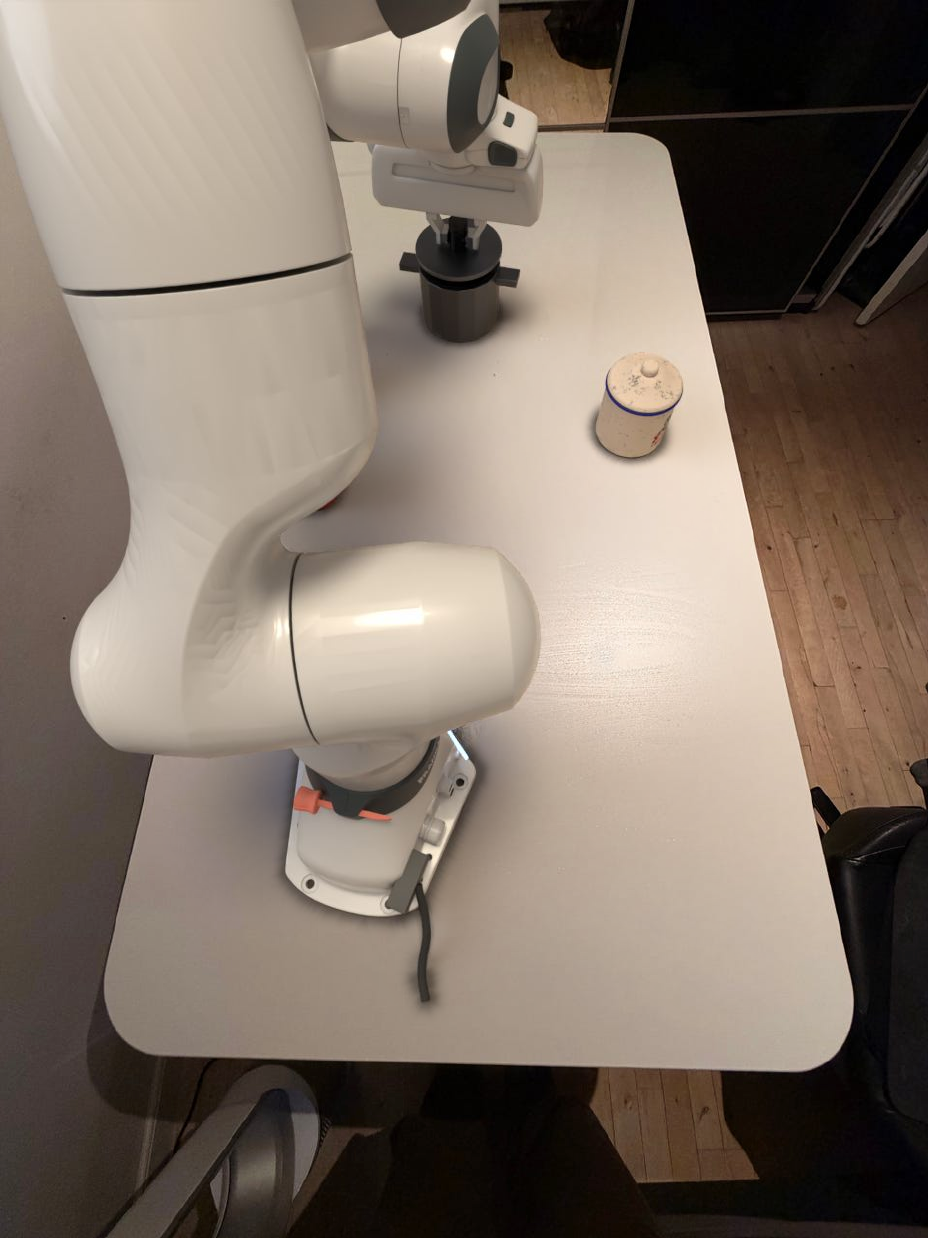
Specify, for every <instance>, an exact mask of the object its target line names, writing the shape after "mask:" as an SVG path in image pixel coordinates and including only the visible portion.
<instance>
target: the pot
mask: <svg viewBox="0 0 928 1238" xmlns="http://www.w3.org/2000/svg"><path fill="white" fill-rule="evenodd" d="M398 267H399V271H402V272H407V273H408V272H409V273H414V274H418V275H419V284H420V295H421V306H422V314H423V321H424V324H425V326H426V328H427V329H428V331H429V332H430V333H431V334H433V336H435V337H437V338H438V339H440V340H443V341H445V342H450V343H456V344H457V343H458V344H463V343H464V344H465V343H470V342H475V341H477V340H480V339H481V338H484V337H486V335H488V334H489V333H490V332H491V331H492V330H493V328H494V327H495V325H496V324H497V321H498V316H499V307H500V306H499V304H500V303H499V301H500V287H505V288H506V287H507V288H512V289H517V288H518V284H519V280H520V277H521V269H520V268H514V267H507V266H501V260H500V261H499V262H498V264H497V265H496V266H495V268H494V269H492V270H491V271H490V272H489V273H487V274H485V275H484V276H482V277H479V278H477V279H473V280H469V281H447V280H442V279H439V278H437V277H434V276H432V275H431V274H429V273H428V272H426V271H425V270H424V269H423V268H422V267H421V266H420V264H419V262H418V260H417V258H416V252H415V253H413V252H408V251H403V252H402V255H401V258H400V260H399V263H398Z"/></svg>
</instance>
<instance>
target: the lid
mask: <svg viewBox="0 0 928 1238" xmlns="http://www.w3.org/2000/svg"><path fill="white" fill-rule="evenodd" d="M442 220H443V222H444V224H448V225H449V245H441V244H437V241H436V232H435V231H434V230H433V228H432V227H431V225H430V224H429V225H427V226H426V227H425V228H424V229H423V230H422V231H421V232H420V233H419V235H418V237H417V239H416V242H415V248H414V250H415V254H416V258H417V260H418V262H419V264H420V266H421V267H422V268H423V269H424V270H425V271H426V272H428V273H429V274H431V275H432V276H434V277H437V278H439V279H442V280H447V281H469V280H473V279H477V278H479V277H482V276H484V275H485V274H487V273H489V272H490V271H491V270H492V269H494V268H495V266H496V265H497V264H498V262H499V261H500V262H501V258H502V254H503V241H502V238H501V236H500V234H499V232H498V231H497V230H496V229H495V228H494V227H493V226H491V225H490V224H489V223H488V222H487V223H486V227H485V229H484V230H483V232H482V233H481V234H480V241H479V246H478V249H477V250H475V249H469V248H466V234H467V233H468V228H475V227H476V226H475V225H474V219H470V218H463V217H456V216H449V217H446V218H442Z"/></svg>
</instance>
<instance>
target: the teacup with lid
mask: <svg viewBox="0 0 928 1238" xmlns="http://www.w3.org/2000/svg"><path fill="white" fill-rule="evenodd" d="M604 385H605V389H604V393H603V395H602V400H601V403H600V407H599V411H598V415H597V418H596V422H595V433H596V436H597V439H598V441H599V442H600V444H601V445H602V446H603V447H604V448H605V449H606V450H608V451H609V452H610V453H612V454H614V455H617V456H620V457H624V458H639V457H643V456H647V455H648V454H650V453H651V452H653V451H654V450H656V449H657V447H658V446H659V445H660V443H661V441H662V439H663V437H664V434H665V432H666V429H667V427H668V424H669V422H670V420H671V418H672V416H673V413H674V411H675V408H676V406H677V405H678V404H679V403H680V401H681V399H682V397H683V394H684V381H683V377H682V374H681V373H680V370H678V368H677V367H676V366H675V364H673V363H672V362H671V361H670V360H668V359H666V358H664V357H663V356H660V355H658V354H654V353H650V352H643V351H639V352H636V353H631V354H628V355H626V356H623V357H622V358H620V359H618V360H617V361H616V362H615V363H614V364H613V365H612V366H611V367H610V369H608V372H607V374H606V377H605V384H604Z"/></svg>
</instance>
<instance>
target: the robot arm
mask: <svg viewBox="0 0 928 1238" xmlns="http://www.w3.org/2000/svg"><path fill="white" fill-rule="evenodd" d="M499 36H500V0H0V117H1V121H2V124H3V128H4V131H5V134H6V137H7V140H8V144H9V147H10V151H11V154H12V158H13V161H14V164H15V167H16V172H17V175H18V178H19V180H20V184H21V186H22V189H23V192H24V196H25V199H26V202H27V205H28V208H29V210H30V213H31V216H32V219H33V222H34V225H35V228H36V231H37V234H38V237H39V239H40V241H41V244H42V247H43V250H44V252H45V254H46V257H47V260H48V263H49V265H50V268H51V270H52V273H53V276H54V278H55V281H56V283H57V286H58V287H59V288H60V293H61V296H62V298H63V299H62V300H63V301H64V304H65V306H66V309H67V311H68V313H69V315H70V317H71V321H72V324H73V326H74V329H75V332H76V333H77V336H78V339H79V341H80V344H81V346H82V349H83V351H84V354H85V356H86V359H87V361H88V365H89V366H90V370H91V372H92V374H93V378H94V381H95V383H96V386H97V388H98V391H99V394H100V398H101V399H102V400H101V401H102V403H103V407H104V409H105V412H106V415H107V418H108V421H109V423H110V426H111V431H112V432H113V435H114V440H115V443H116V445H117V449H118V452H119V455H120V459H121V461H122V465H123V468H124V472H125V476H126V481H127V487H128V495H129V503H130V504H129V505H130V527H129V535H128V540H127V541H128V542H127V546H126V550H125V554H124V557H123V558H122V562H121V565H119V568H118V570H117V572H116V574H115V575H114V577H113V578H112V579H111V580H110V582H109V583H108V584H107V586H105V588H104V589H103V590H102V591H101V592H100V593H99V594H98V595H97V596H95V598H94V599H93V601H92V602H91V603H90V605H89V606H88V607H87V609H86V610H85V612H84V614H83V615H82V617H81V618H80V621H79V624H78V625H77V628H76V630H75V634H74V637H73V640H72V644H71V648H70V656H69V658H70V659H69V674H70V681H71V686H72V687H71V688H72V691H73V695H74V698H75V700H76V703H77V705H78V707H79V709H80V712H81V713H82V715H83V717H84V718H85V720H86V722H87V723H88V724H89V725H90V727H91V728H92V730H93V731H94V732H95V733H96V734H97V735H98V736H99V737H100V739H102V740H103V741H104V742H105V743H106V744H108V745H109V746H111V747H112V748H113V749H115V750H116V751H117V750H118V751H120V752H125V753H132V754H143V755H152V756H160V757H161V756H162V757H177V758H191V759H206V760H207V759H215V758H216V759H217V758H223V757H232V756H243V755H251V754H259V753H267V752H275V751H284V750H292V751H293V753H294V754H295V755H296V756H297V758H298V760H299V761H298V766H297V774H296V776H297V777H296V780H295V790H294V797H293V806H292V812H291V820H290V826H289V827H290V828H289V835H288V842H287V851H286V859H285V868H284V872H285V875H286V877H287V879H288V880H289V882H291V884H293V886H295V887H296V889H297V890H299V892H301V893H302V894H304V895H305V896H307V897H309V898H311V899H312V900H314V901H316V902H318V903H320V904H322V905H324V906H328V907H330V908H332V909H336V910H339V911H343V912H345V913H351V914H355V915H358V916H365V917H366V916H367V917H375V918H376V917H378V918H380V917H381V918H386V917H396V916H400V915H406V914H408V913H411V912H412V911H415V910H417V909H419V914H420V920H421V929H422V930H421V933H422V936H421V945H420V950H419V955H418V961H417V983H418V990H419V991H418V992H419V996H420V1000H421V1003H426V1002H429V1001H430V1000H431V999H430V993H429V988H428V981H427V964H428V963H427V962H428V957H429V951H430V946H431V938H432V930H431V929H432V928H431V918H430V913H429V908H428V903H427V900H426V894H427V892H428V889H429V887H430V885H431V882H432V880H433V878H434V875H435V873H436V871H437V869H438V866H439V864H440V862H441V860H442V857H443V855H444V852H445V849H446V847H447V846H448V843H449V841H450V839H451V837H452V835H453V832H454V829H455V827H456V825H457V823H458V820H459V817H460V816H461V813H462V812H463V808H464V806H465V803H466V800H467V798H468V795H469V793H470V792H471V791H470V790H471V789H472V787H473V784H474V782H475V779H476V776H477V769H476V766H475V765H474V762H473V761H472V760H471V759H470V758H469V756H468V754H467V753H466V751H465V749H464V748H463V746H462V745H461V743H460V742H459V741H458V740H457V738H456V736H455V735H454V732H453V731H454V730H456V729H459V728H461V727H465V726H467V725H469V724H472V723H475V722H478V721H482V720H484V719H487V718H490V717H493V716H496V715H498V714H499V715H500V714H501V713H504V712H507V711H510V710H513V709H514V708H515V707H516V705H517V704H518V703H519V702H520V700H522V698H523V696H524V695H525V693H526V692H527V690H528V688H529V686H530V684H531V682H532V680H533V678H534V676H535V674H536V671H537V667H538V664H539V663H538V662H539V660H540V656H541V649H542V647H541V646H542V624H541V623H542V622H541V618H540V612H539V608H538V604H537V602H536V599H535V596H534V594H533V591H532V590H531V588H530V586H529V584H528V582H527V581H526V579H525V578H524V576H523V575H522V574H521V572H520V570H519V569H518V568H517V567H516V566H515V565H514V564H513V563H512V561H510V560H509V559H508V558H507V557H506V556H505V555H503V553H501V552H500V551H498V550H497V549H496V548H493V547H487V546H486V547H485V546H477V545H467V544H458V543H443V542H429V541H407V542H397V543H389V544H380V545H371V546H361V547H351V548H342V549H334V550H325V551H324V550H323V551H316V552H314V551H313V552H304V551H291V550H289V549H287V548H286V547H285V545H284V544H283V541H282V540H281V537H280V536H281V534H283V533H284V532H286V530H288V529H290V528H291V527H293V526H294V525H295V524H297V523H299V522H301V521H302V520H304V519H305V518H307V517H308V516H310V515H312V514H313V513H315V512H317V511H316V510H318V509H320V508H321V507H323V506H324V505H326V504H327V503H328V502H330V501H331V500H333V499H334V498H335V497H336V496H337V495H338V494H339V495H340V494H341V493H342V492H343V491H344V490H346V488H347V487H348V486H349V485H351V483H352V482H353V481H354V480H355V478H357V476H358V475H359V474H360V473H361V472H362V470H363V469H364V467H365V465H366V464H367V462H368V460H369V458H370V456H371V453H372V452H373V448H374V446H375V442H376V437H377V433H378V425H379V424H378V423H379V417H378V409H377V402H376V396H375V389H374V385H373V383H374V382H373V377H372V371H371V362H370V357H369V351H368V343H367V338H366V331H365V326H364V325H365V324H364V319H363V313H362V307H361V300H360V294H359V287H358V282H357V275H356V268H355V261H354V254H353V253H352V250H353V247H352V242H351V237H350V231H349V225H348V219H347V214H346V208H345V202H344V197H343V193H342V192H343V191H342V189H341V188H342V187H341V182H340V177H339V173H338V168H337V164H336V159H335V154H334V149H333V145H332V142H338V143H354V142H355V143H356V142H357V143H364V144H366V146H367V150H368V151H369V153H370V155H371V187H372V188H371V189H372V196H373V198H374V200H375V201H376V202H377V203H378V204H379V205H380V206H381V207H387V208H393V209H400V210H407V211H414V212H422V213H425V219H426V221H427V222H428V224H429V225H431V227H432V228H433V230H434V231H435V232H436V241H437V244H441V245H449V225H448V224H444V222H443V220H442V219H443V218H442V216H449V217H450V216H456V217H463V218H470V219H474V225H475V226H476V227H475V228H468V233H467V234H466V248H469V249H475V250H477V249H478V246H479V241H480V234H481V233H482V232H483V230H484V229H485V227H486V223H487V224H488V222H491V223H499V224H506V225H513V226H518V227H526V228H531V227H533V225H535V223H537V221H538V220H539V218H540V215H541V212H542V207H543V199H544V184H545V183H544V161H543V155H542V151H541V149H540V148H539V146H538V144H537V138H538V131H539V117H538V116H537V114H535V113H534V112H533V111H530V110H529V109H527V108H525V107H523V106H521V105H519V104H517V103H515V102H513V101H512V100H510V99H507V98H506V97H505V96H503V95H501V94H500V93H499V92H500V79H501V78H500V77H501V51H502V50H501V49H502V48H501V47H502V46H501V40H500V37H499ZM441 215H442V216H441ZM339 495H338V496H339ZM458 780H462V781H463V784H462V785H461V786H460V785H458V784H457V781H458ZM430 855H431V856H430ZM311 880H312V881H313V882H314V885H313V886H312V887H311V888H310V887H309V886H308V883H309V881H311Z"/></svg>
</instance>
